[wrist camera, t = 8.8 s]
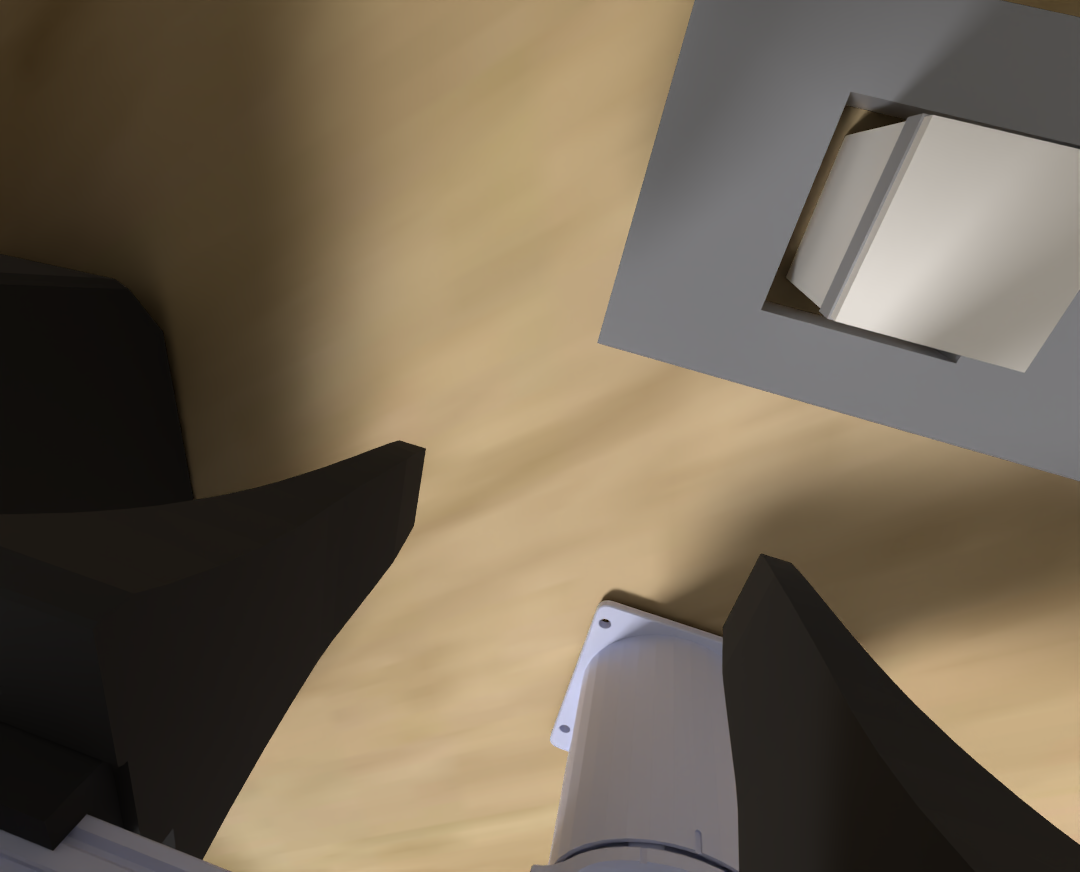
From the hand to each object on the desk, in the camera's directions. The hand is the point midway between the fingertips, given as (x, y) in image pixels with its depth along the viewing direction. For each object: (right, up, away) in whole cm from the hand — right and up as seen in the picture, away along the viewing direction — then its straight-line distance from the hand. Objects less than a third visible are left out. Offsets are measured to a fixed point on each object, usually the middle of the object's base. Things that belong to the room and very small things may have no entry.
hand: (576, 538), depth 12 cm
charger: (+9, +8, +5) cm, 13 cm away
